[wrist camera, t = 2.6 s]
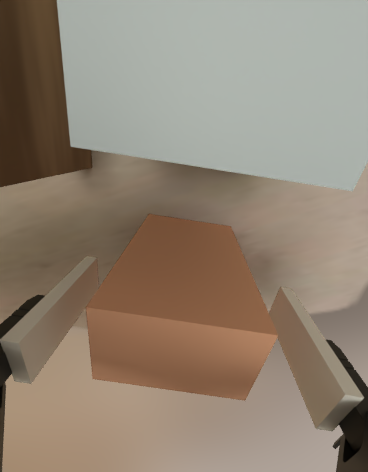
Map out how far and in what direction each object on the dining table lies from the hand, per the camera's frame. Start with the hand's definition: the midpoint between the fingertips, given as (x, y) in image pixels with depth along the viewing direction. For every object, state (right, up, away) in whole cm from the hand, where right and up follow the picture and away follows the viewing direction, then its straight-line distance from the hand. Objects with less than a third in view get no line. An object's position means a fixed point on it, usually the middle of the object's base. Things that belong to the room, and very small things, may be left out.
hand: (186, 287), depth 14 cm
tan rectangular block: (0, +3, +6) cm, 7 cm away
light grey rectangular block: (+2, +13, +1) cm, 13 cm away
